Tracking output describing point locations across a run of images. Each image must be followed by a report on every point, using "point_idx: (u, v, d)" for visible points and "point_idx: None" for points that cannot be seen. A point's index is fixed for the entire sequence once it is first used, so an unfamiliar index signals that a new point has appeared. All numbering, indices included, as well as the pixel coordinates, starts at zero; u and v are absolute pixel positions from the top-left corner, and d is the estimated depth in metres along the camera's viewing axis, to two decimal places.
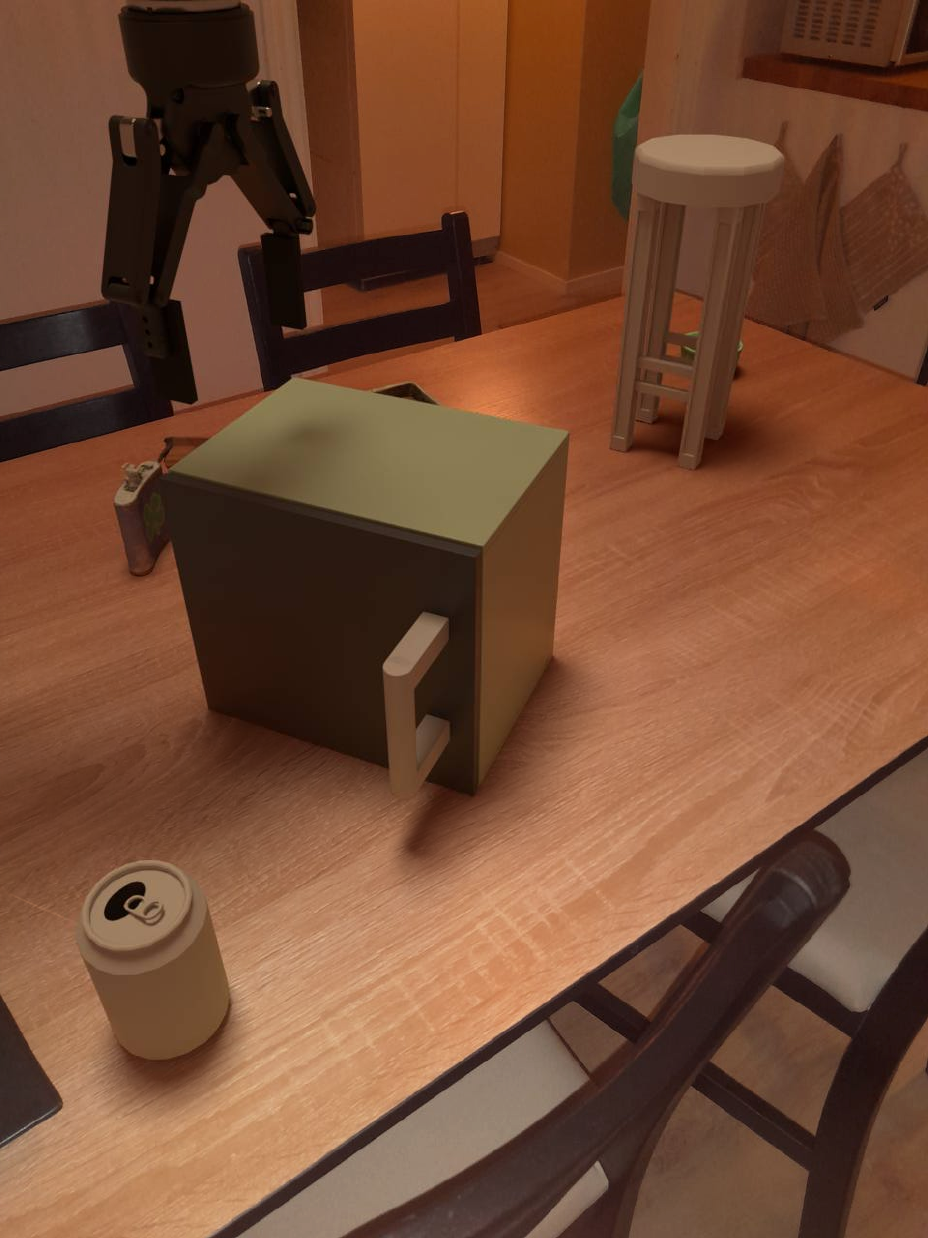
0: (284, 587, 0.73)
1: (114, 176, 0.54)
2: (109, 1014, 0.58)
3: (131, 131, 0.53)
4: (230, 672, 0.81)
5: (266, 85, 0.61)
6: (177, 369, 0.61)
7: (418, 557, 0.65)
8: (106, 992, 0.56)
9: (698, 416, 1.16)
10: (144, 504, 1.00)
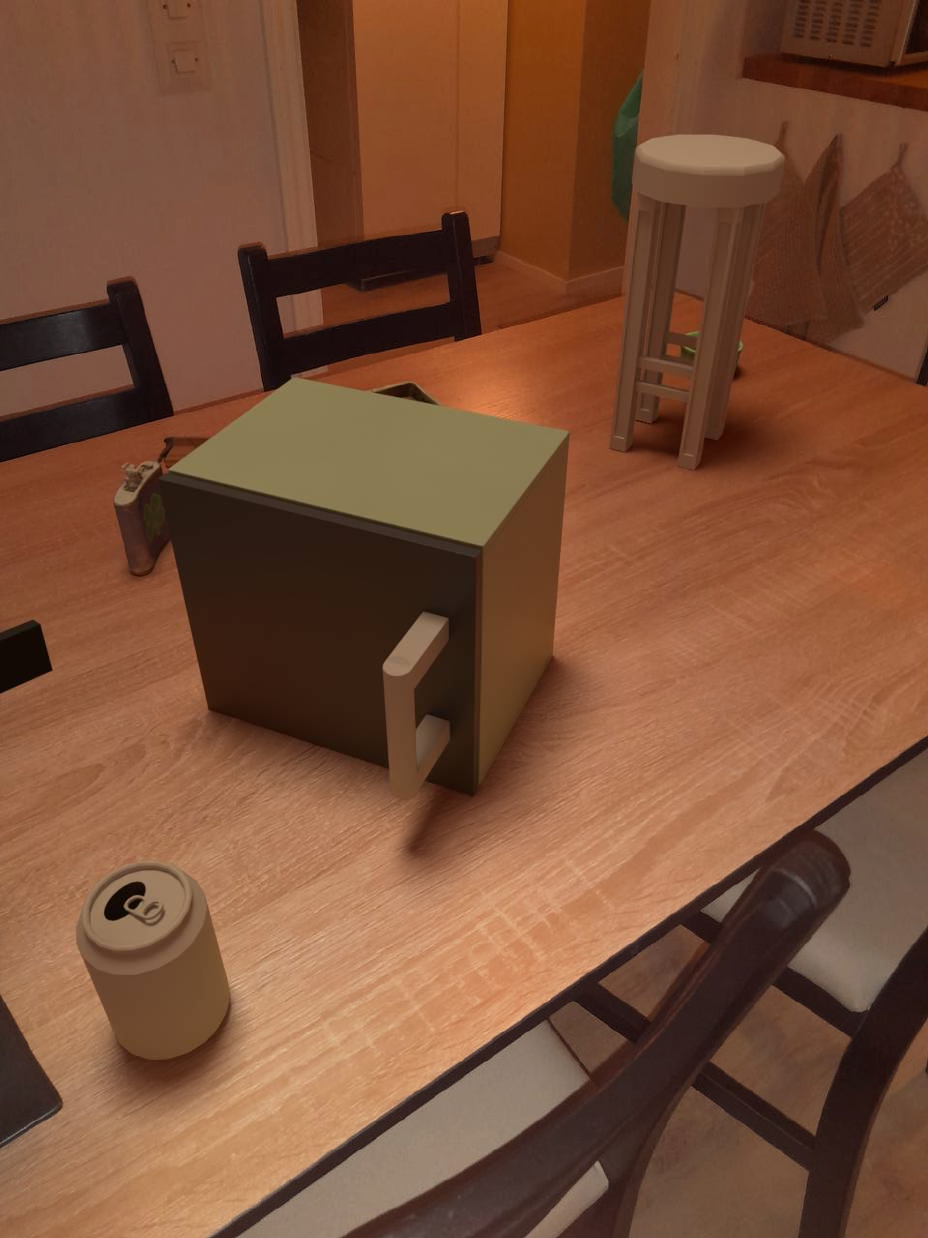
0: (284, 587, 0.73)
1: None
2: (109, 1014, 0.58)
3: None
4: (230, 672, 0.81)
5: None
6: None
7: (418, 557, 0.65)
8: (106, 992, 0.56)
9: (698, 416, 1.16)
10: (144, 504, 1.00)
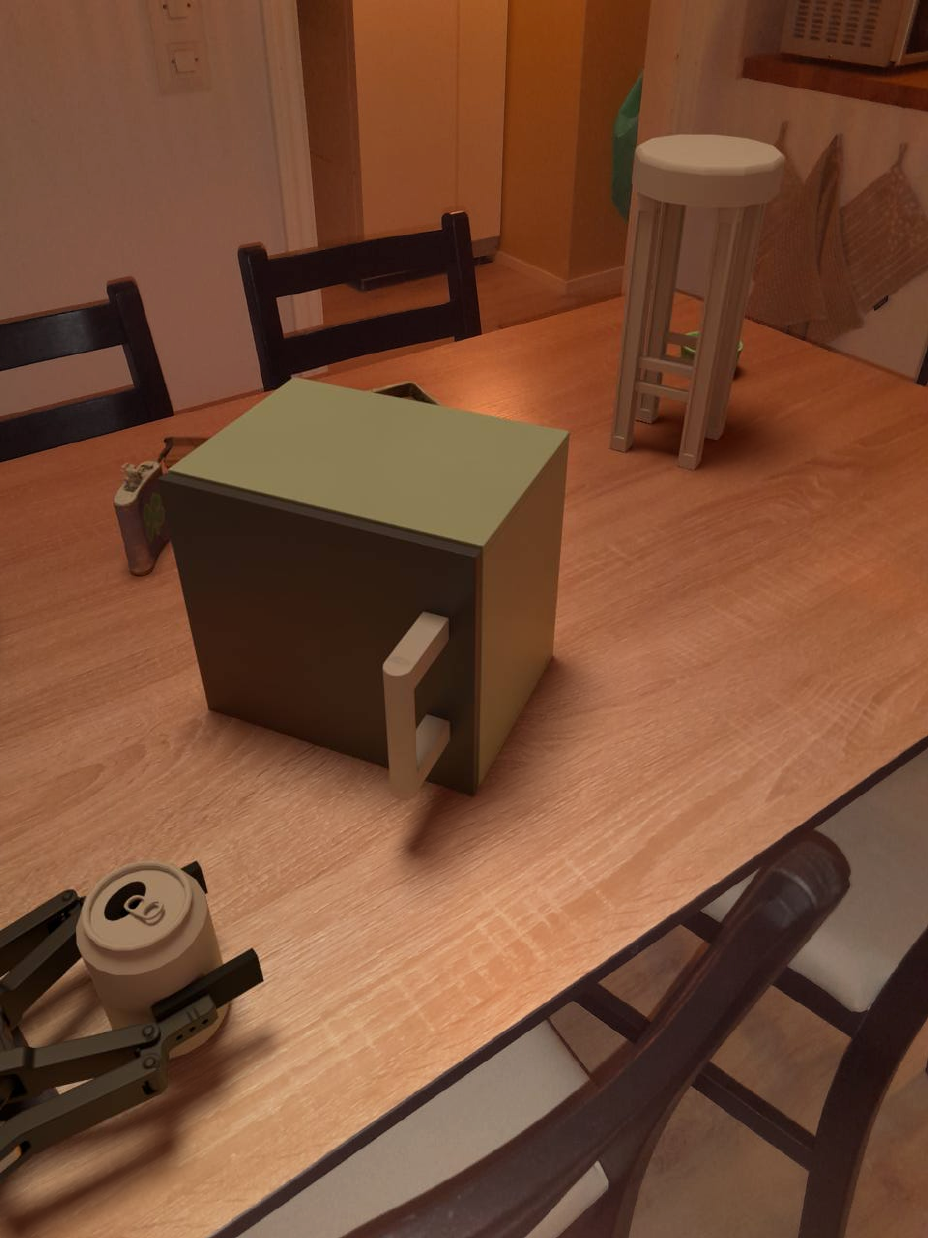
0: (284, 587, 0.73)
1: None
2: (109, 1014, 0.58)
3: None
4: (230, 672, 0.81)
5: None
6: None
7: (418, 557, 0.65)
8: (106, 992, 0.56)
9: (698, 416, 1.16)
10: (144, 504, 1.00)
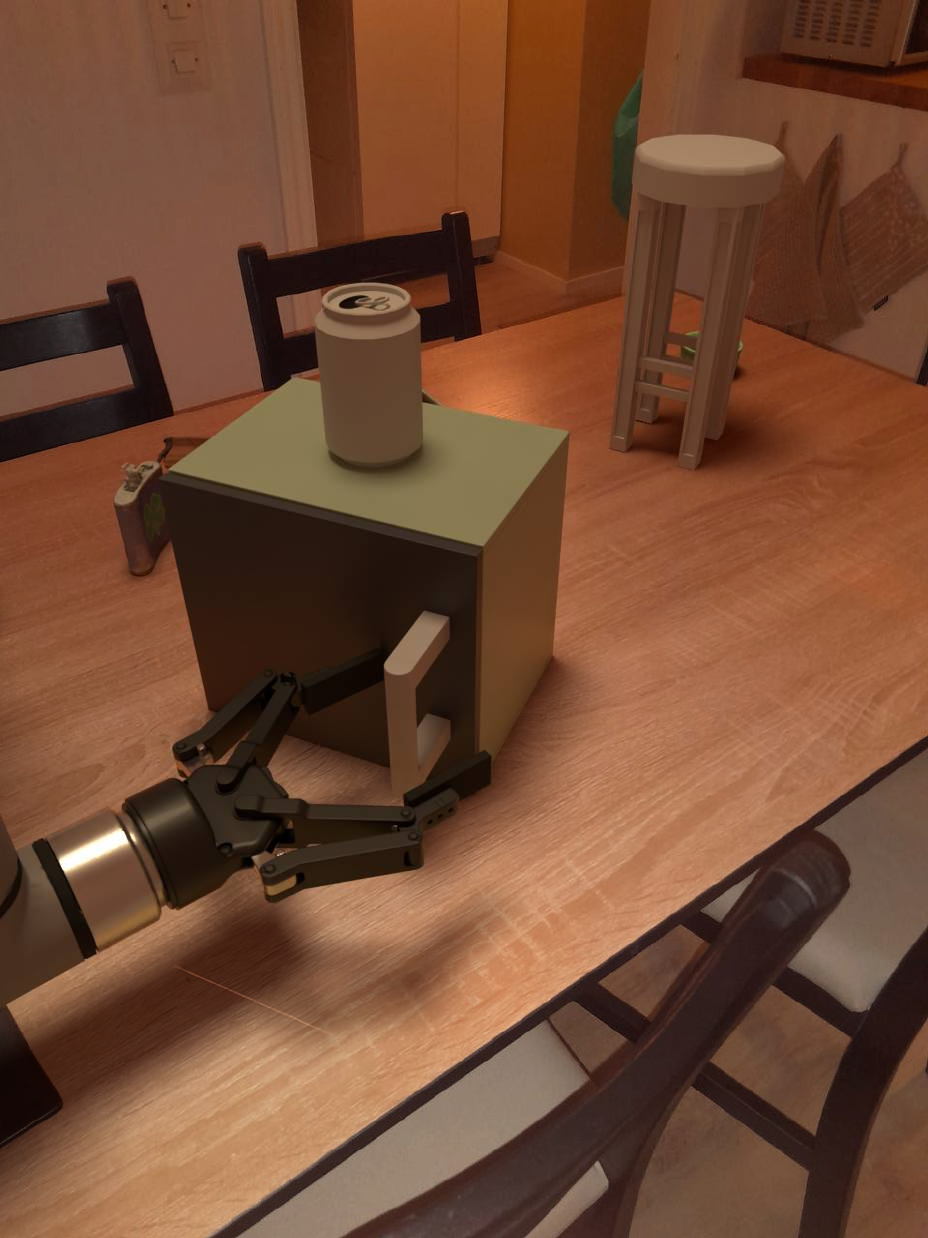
0: (284, 587, 0.73)
1: (207, 725, 0.66)
2: (336, 409, 0.70)
3: None
4: (230, 672, 0.81)
5: None
6: None
7: (419, 556, 0.66)
8: (341, 371, 0.67)
9: (698, 416, 1.16)
10: (144, 504, 1.00)
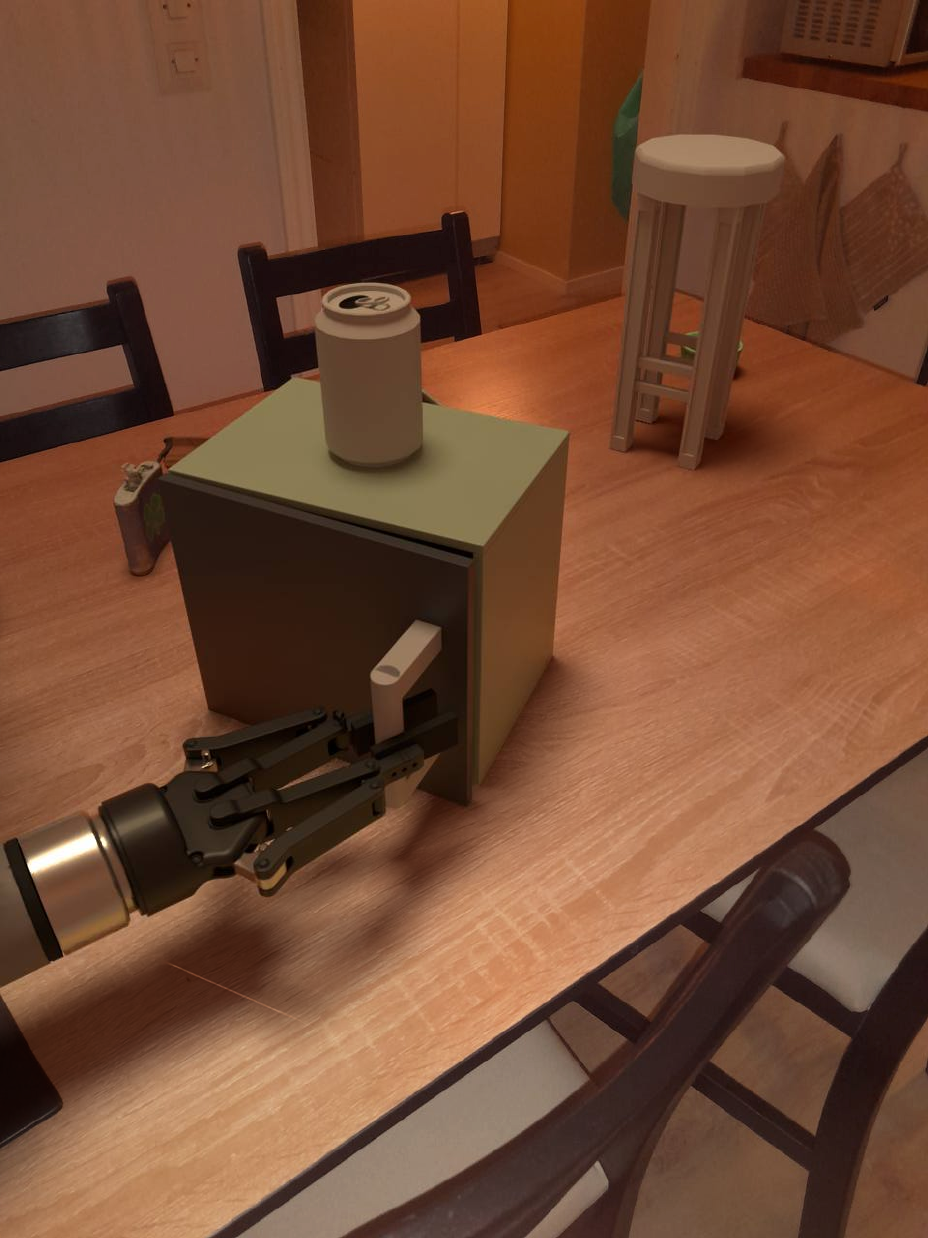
0: (280, 590, 0.72)
1: (230, 734, 0.66)
2: (336, 409, 0.70)
3: None
4: (229, 673, 0.81)
5: (258, 889, 0.58)
6: None
7: (411, 565, 0.65)
8: (341, 371, 0.67)
9: (698, 416, 1.16)
10: (144, 503, 1.00)
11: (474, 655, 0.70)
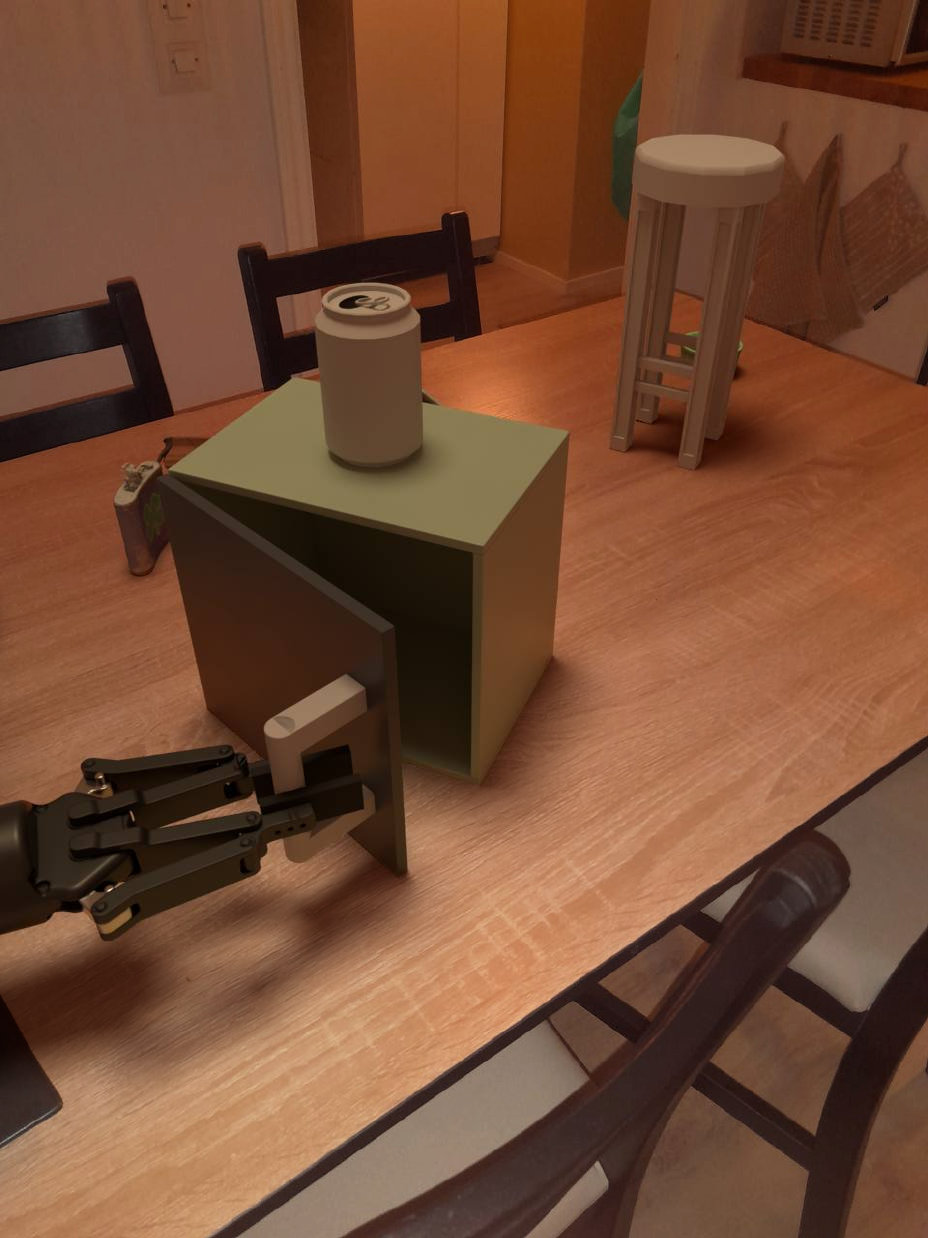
0: (246, 612, 0.70)
1: (131, 760, 0.64)
2: (336, 409, 0.70)
3: None
4: (217, 679, 0.81)
5: None
6: None
7: (338, 617, 0.60)
8: (341, 371, 0.67)
9: (698, 416, 1.16)
10: (144, 504, 1.00)
11: (474, 655, 0.70)
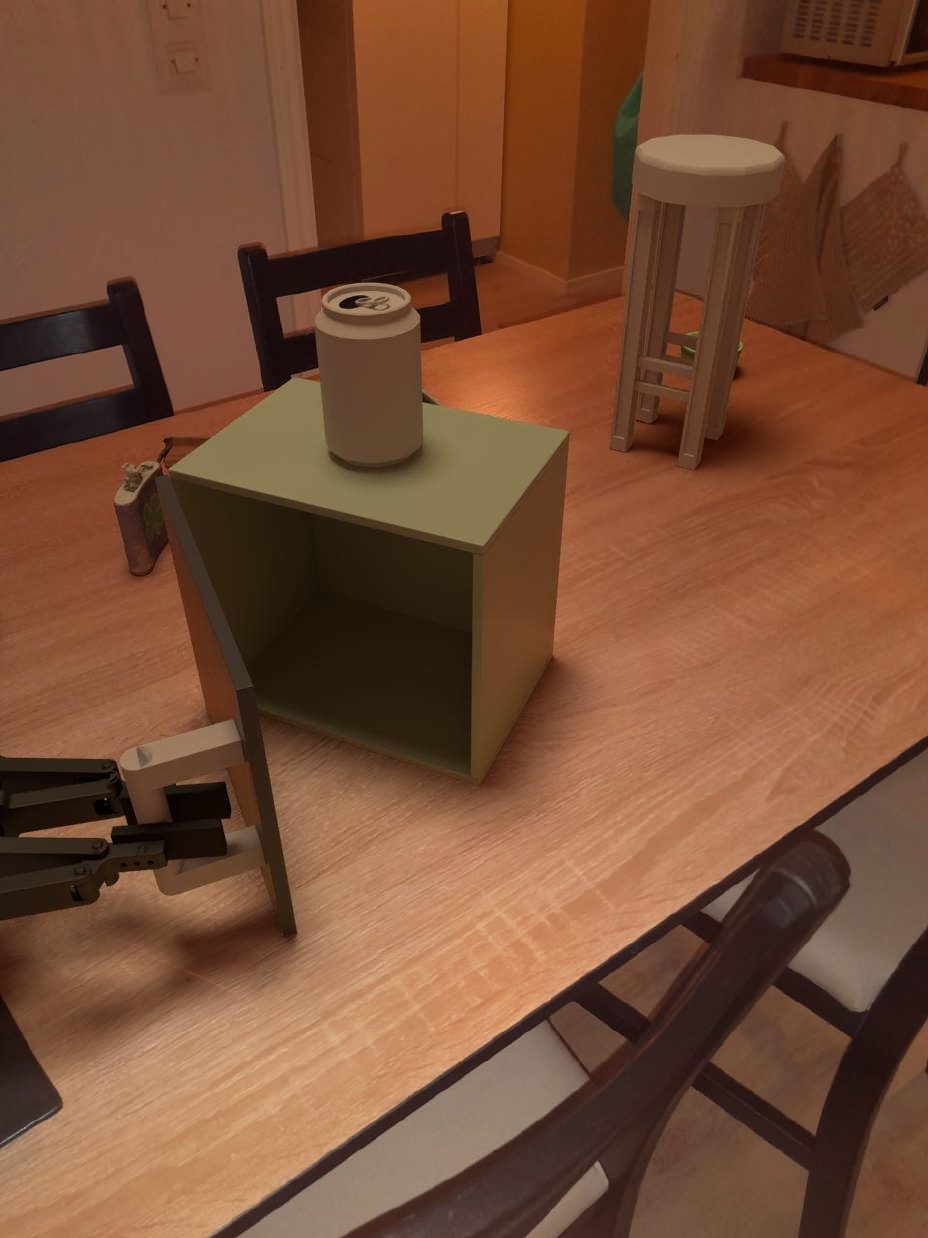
0: (198, 628, 0.69)
1: (19, 759, 0.64)
2: (336, 409, 0.70)
3: None
4: (203, 684, 0.80)
5: None
6: None
7: (221, 660, 0.57)
8: (341, 371, 0.67)
9: (698, 416, 1.16)
10: (144, 504, 1.00)
11: (474, 655, 0.70)
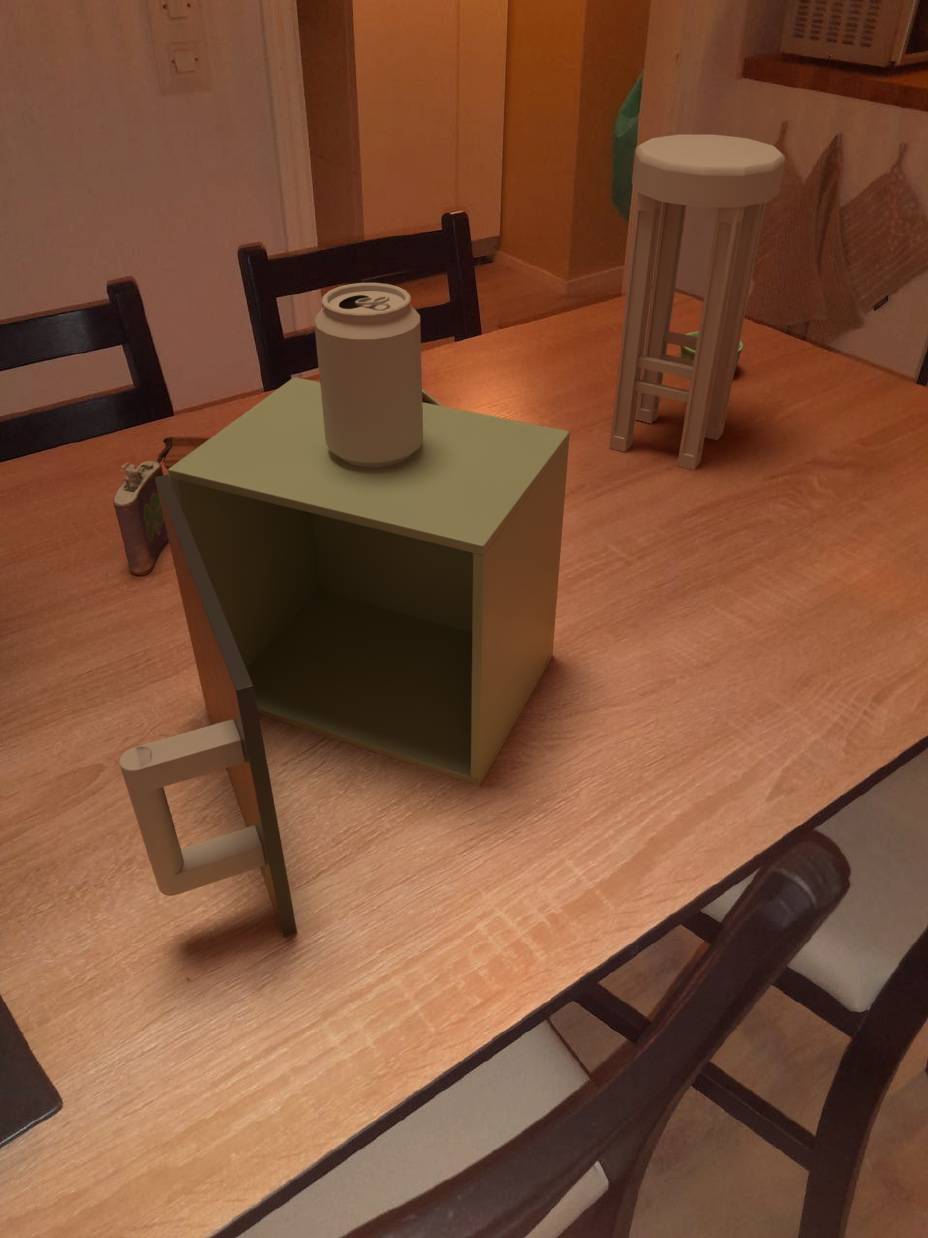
0: (198, 628, 0.69)
1: None
2: (336, 409, 0.70)
3: None
4: (203, 684, 0.80)
5: None
6: None
7: (221, 660, 0.57)
8: (341, 371, 0.67)
9: (698, 416, 1.16)
10: (144, 504, 1.00)
11: (474, 655, 0.70)
